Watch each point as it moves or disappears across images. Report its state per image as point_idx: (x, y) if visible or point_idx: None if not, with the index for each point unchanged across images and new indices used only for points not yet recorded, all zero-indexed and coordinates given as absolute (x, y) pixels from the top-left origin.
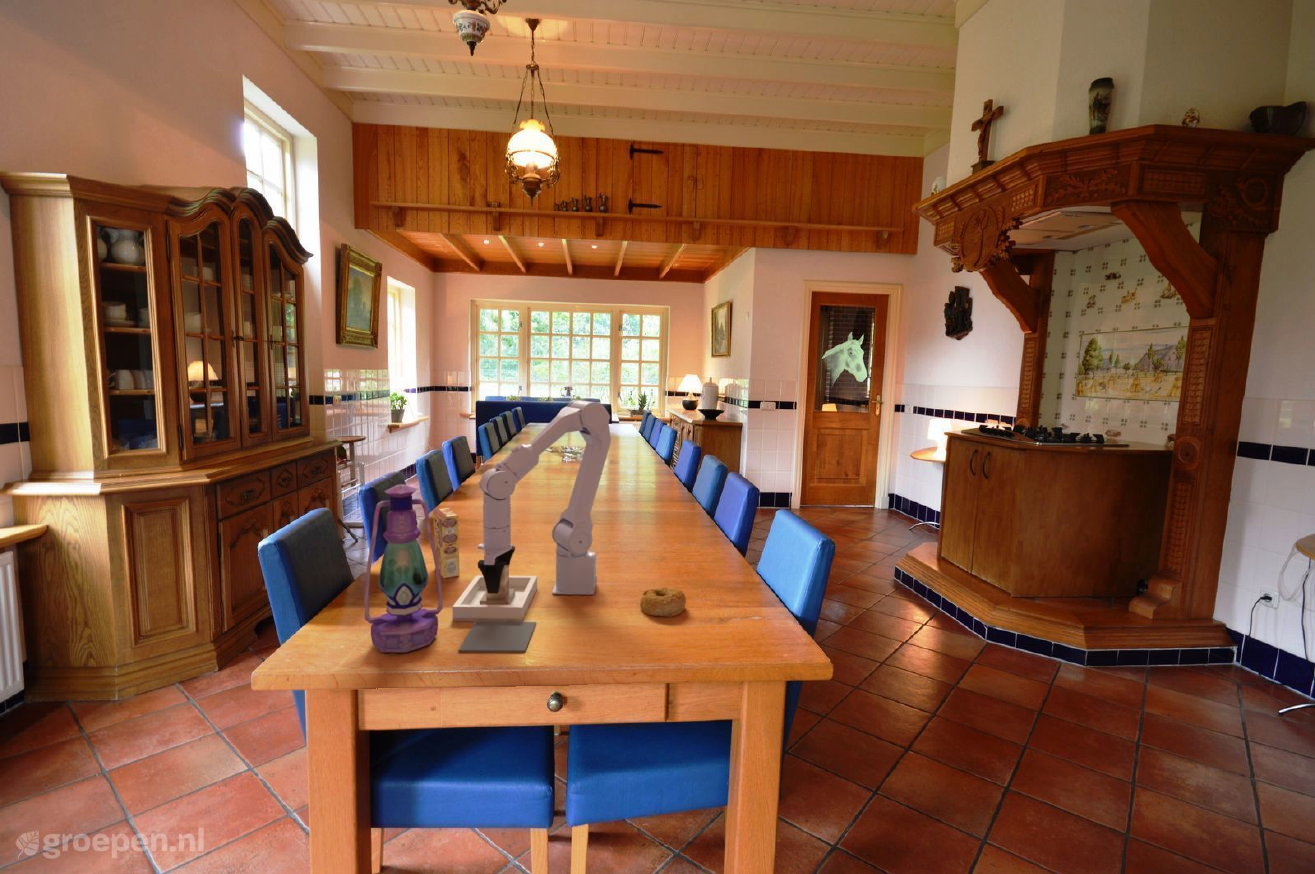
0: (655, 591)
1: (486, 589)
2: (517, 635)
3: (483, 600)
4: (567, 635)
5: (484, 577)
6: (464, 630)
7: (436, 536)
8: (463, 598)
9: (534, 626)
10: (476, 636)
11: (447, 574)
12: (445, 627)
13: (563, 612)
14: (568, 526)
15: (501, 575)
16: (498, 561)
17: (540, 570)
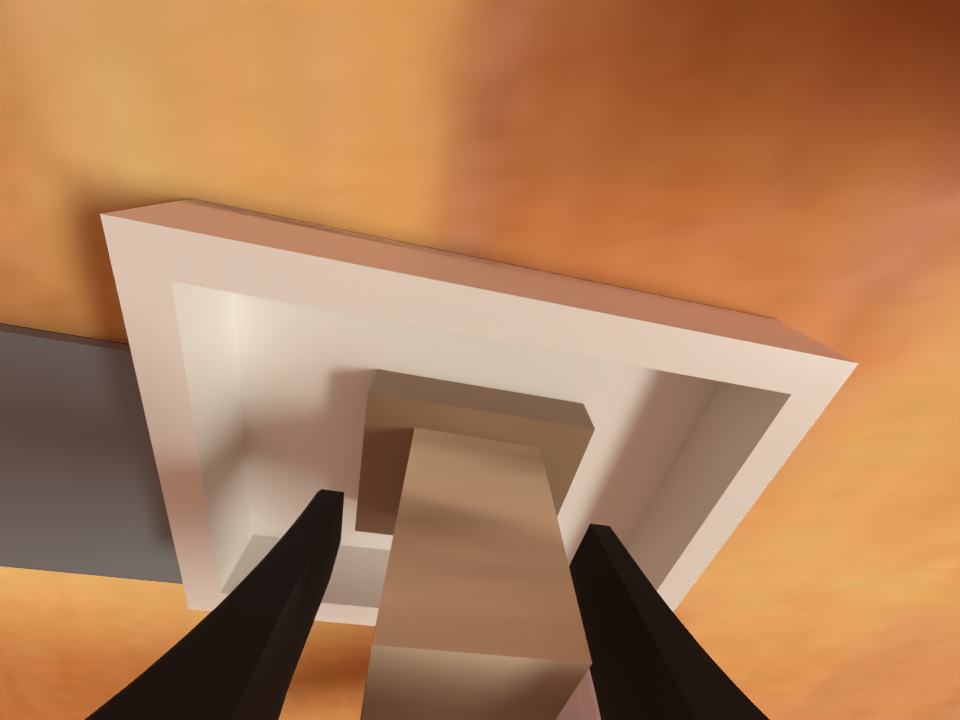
0: None
1: (406, 474)
2: (47, 532)
3: (372, 414)
4: (128, 646)
5: (203, 624)
6: (59, 292)
7: None
8: (317, 297)
9: (161, 581)
10: None
11: None
12: (68, 152)
13: (335, 642)
14: None
15: (279, 715)
16: (651, 716)
17: (847, 591)
